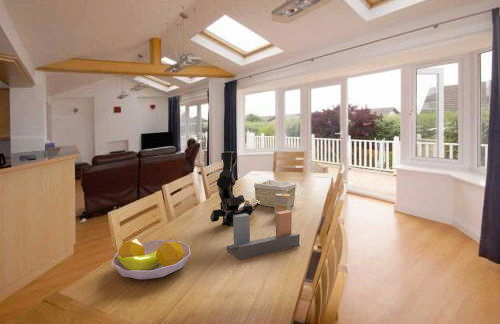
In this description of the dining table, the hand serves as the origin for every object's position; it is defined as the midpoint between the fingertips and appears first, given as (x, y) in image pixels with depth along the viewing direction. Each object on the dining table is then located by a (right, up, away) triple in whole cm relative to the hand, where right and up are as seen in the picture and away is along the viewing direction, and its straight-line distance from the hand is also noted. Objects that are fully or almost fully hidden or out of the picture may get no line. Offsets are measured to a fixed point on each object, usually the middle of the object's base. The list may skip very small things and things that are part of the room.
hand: (238, 230), depth 124 cm
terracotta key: (+19, -5, +2) cm, 20 cm away
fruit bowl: (-30, -10, -20) cm, 37 cm away
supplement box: (+23, -2, +41) cm, 47 cm away
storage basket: (+21, +1, +69) cm, 72 cm away
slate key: (+2, -6, -2) cm, 6 cm away
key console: (+11, -7, 0) cm, 13 cm away
